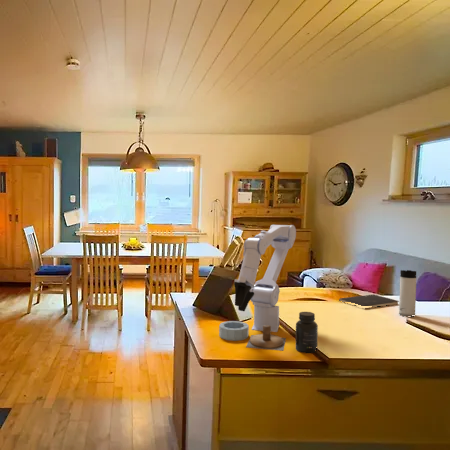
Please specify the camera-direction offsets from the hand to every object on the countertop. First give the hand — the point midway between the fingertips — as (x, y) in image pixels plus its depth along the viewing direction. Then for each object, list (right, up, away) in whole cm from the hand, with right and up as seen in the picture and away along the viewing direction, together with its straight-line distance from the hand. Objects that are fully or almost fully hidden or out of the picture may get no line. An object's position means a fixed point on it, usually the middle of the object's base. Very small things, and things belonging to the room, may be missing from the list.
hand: (239, 308), depth 125 cm
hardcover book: (+65, -11, +58) cm, 88 cm away
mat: (+9, -12, 0) cm, 15 cm away
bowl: (-2, -11, +7) cm, 13 cm away
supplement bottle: (+21, -12, -6) cm, 25 cm away
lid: (+9, -11, 0) cm, 15 cm away
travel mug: (+74, -11, +37) cm, 83 cm away
